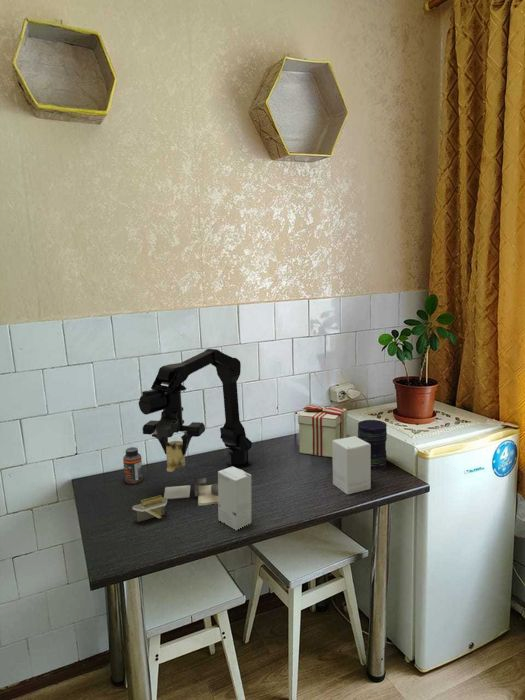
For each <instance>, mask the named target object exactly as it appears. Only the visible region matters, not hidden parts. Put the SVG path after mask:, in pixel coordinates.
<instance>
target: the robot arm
mask: <svg viewBox="0 0 525 700" xmlns="http://www.w3.org/2000/svg"><path fill="white" fill-rule="evenodd" d="M210 365H211V366H213V367H214V368H215V370H216V375H217V376H218V378H219V380H220V381H221V384H222V395H223V396H222V397H223V407H224V418H225V419H224V420H225V421H224V424H223V426H222V427H220V428H219V429H220V430H219V433H220V439H221V441H222V443H223V444H224V447H225V448H228V452H227V464H228V465H230V467H232V466H233V467H235V468H238V469H240V468H243V467H246V466H250V465H251V464H252V463H251V462H250V461H249V450H250V449H252V446H253V442H252V441H251V440H250V439H249V438H248V437H247V434H246V428H245V427H244V425H243V424H242V422H241V421H240V410H239V409H240V408H239V396H238V395H239V394H238V384H237V383H238V380H239V378H240V376H241V368H242V366H241V361H240V360H239V359H238V358H237V357H233V356H230V355H228V354H226V353H224V352H223V351H221V350H219V349H216V348H215V349H214V348H207V349H205V350H204V351H202V352H200V353H198V354H196V355H194V356H192V357H190V358H188V359H186V360H184V361H182V362H177V363H170V364H165V365H162V366H161V367H159V369H158V372H157V375H156V376H155V379H154V381H153V383H152V384H151V386H150V387H151V388H150V390H144V391H142V392H141V396H140V397H139V401H138V407H139V410H140V412H141V413H142V415H150V414H154V413H157V412H160V411H161V415H160V419H159V420H149V421H148V422H145V424H144V425H143V426H142V434H143V435H151V437H153V438H155V439H157V441H159V443H160V446H161V447H162V450H163V452H164V454H165V455H166V443H168V442H169V438H172V437H173V435H174V434H175V433H179V432H182V433H183V435H182V436H180V439H181V440H182V442H183V455H185V456H186V454H187V451H188V448H189V445H190V442H191V440H192V438H193V437H200V436H201V435H202V434H203V433H204V432H205V431H206V426H205V424H204V422H197V421H196V422H195V421H192V422H191V423H190V424H189V425H184V424H185V419H183V411H184V406H183V405H182V392H183V391H186V390H187V387H185V386H184V384H183V383H184V382H185V381H187V379H188V377H189V376H190V375H191V374H194V373H195V372H198V371H199V370H202V369H203V368H206V367H207V366H210Z"/></svg>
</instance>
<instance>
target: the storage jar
mask: <svg viewBox="0 0 525 700" xmlns="http://www.w3.org/2000/svg"><path fill="white" fill-rule="evenodd" d="M387 425H388V424H387V423H386V422H384V421H382V420H376V419H365V420H361V421H359V422H358V423H357V437H358V438H359V439H361V440H363V441H365V442H367V443H369V444H371V471H374V472H375V471H376V472H378V471H382V470H385V469H386V468H387V457H388V456H387V449H386V447H387V445H386V444H387V434H388V432H387Z"/></svg>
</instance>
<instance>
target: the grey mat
mask: <svg viewBox="0 0 525 700" xmlns="http://www.w3.org/2000/svg"><path fill="white" fill-rule="evenodd" d="M190 493H191V485H190V484H189V485H179V486H178V485H177V486H176V485H175V486H165V488H164V494H163V498H167V500H174V499H184V498H186V499H187V498H190V496H191V495H190Z"/></svg>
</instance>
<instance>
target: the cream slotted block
mask: <svg viewBox="0 0 525 700" xmlns="http://www.w3.org/2000/svg"><path fill="white" fill-rule="evenodd" d="M193 484H194V486H193V487H194V497H197V501H198V502H197V504H198V507H200V506H213V505H212V504H214V505H218V482H216V483H213V484H209V485H207V477H203V478H194V481H193ZM204 484H205V485H204Z"/></svg>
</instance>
